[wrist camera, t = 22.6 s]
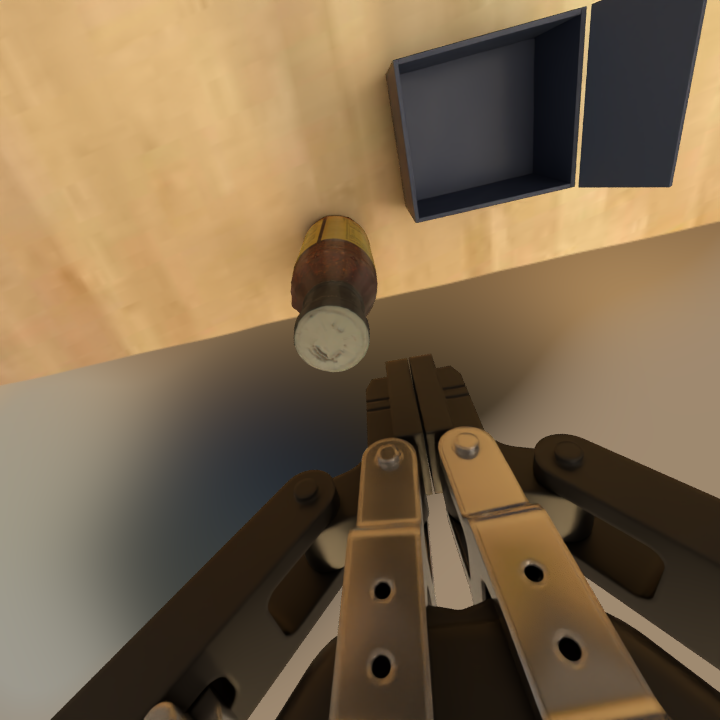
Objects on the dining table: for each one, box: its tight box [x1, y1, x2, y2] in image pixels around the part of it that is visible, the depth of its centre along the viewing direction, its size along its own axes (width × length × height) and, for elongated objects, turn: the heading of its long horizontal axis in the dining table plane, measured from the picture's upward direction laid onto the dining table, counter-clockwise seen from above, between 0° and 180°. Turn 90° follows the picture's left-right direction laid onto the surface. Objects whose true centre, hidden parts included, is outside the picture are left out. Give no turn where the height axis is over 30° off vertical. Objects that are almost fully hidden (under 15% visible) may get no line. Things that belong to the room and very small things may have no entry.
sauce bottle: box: [291, 216, 377, 372], centre depth 28 cm, size 6×6×20 cm
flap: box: [579, 0, 707, 187], centre depth 22 cm, size 10×6×1 cm
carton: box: [386, 6, 587, 223], centre depth 29 cm, size 10×12×7 cm
